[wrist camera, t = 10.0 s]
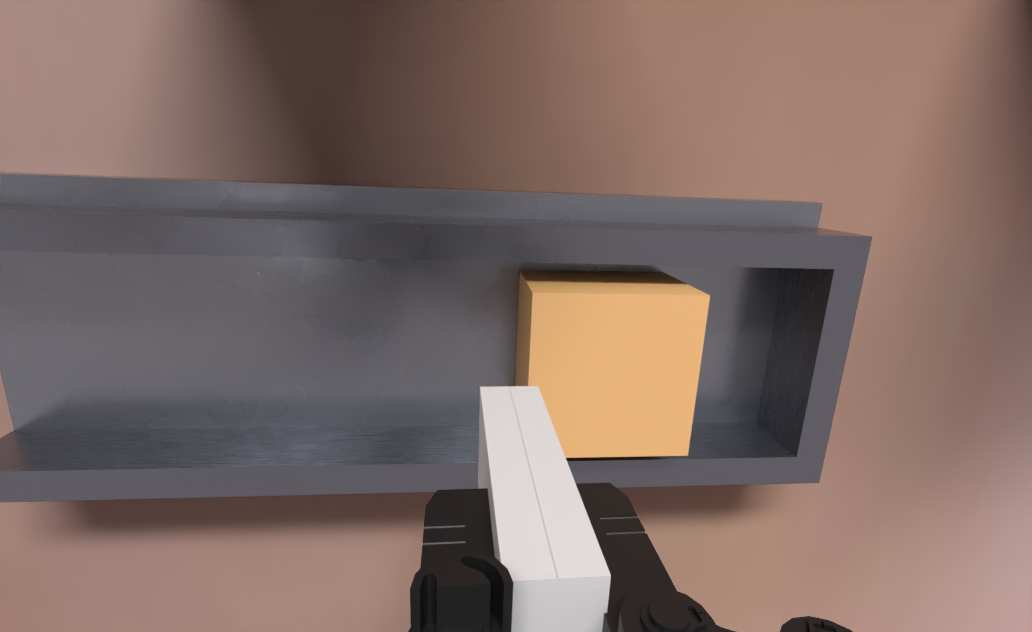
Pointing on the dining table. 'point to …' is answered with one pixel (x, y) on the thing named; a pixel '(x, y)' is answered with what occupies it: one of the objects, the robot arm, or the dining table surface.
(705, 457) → the chute
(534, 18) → the dining table surface
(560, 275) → the block
